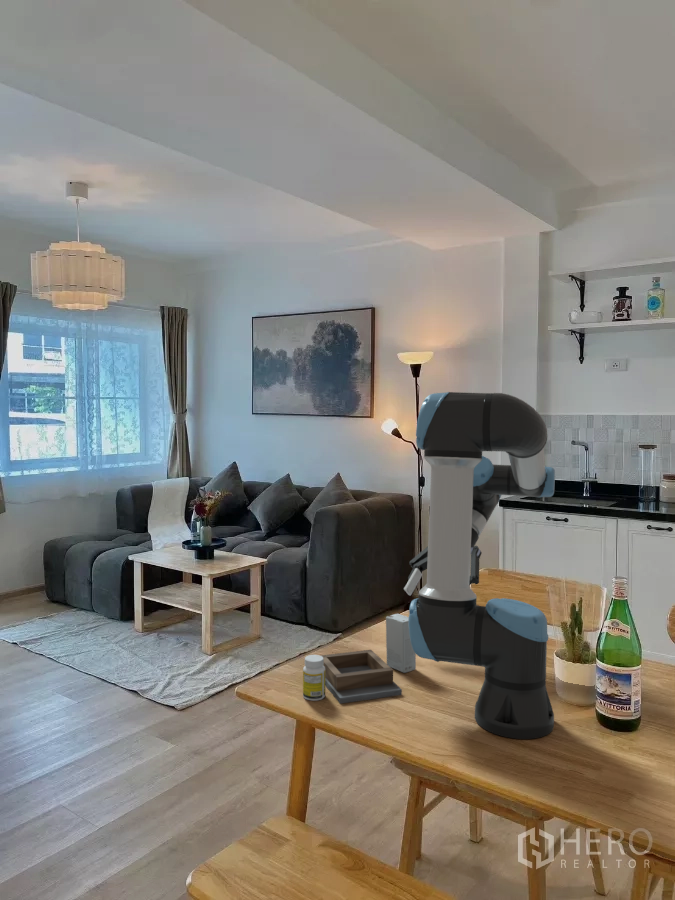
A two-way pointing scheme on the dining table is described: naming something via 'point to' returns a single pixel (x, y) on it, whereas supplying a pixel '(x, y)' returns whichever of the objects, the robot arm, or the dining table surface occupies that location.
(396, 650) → the skincare box
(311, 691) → the supplement bottle
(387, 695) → the collar stand
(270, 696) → the dining table surface
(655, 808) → the dining table surface
